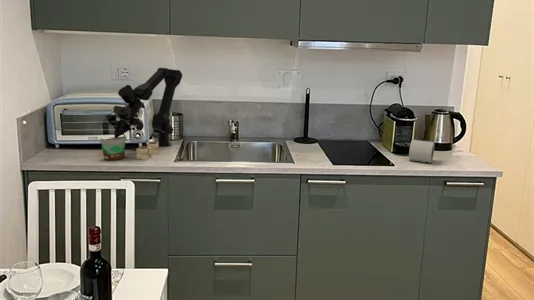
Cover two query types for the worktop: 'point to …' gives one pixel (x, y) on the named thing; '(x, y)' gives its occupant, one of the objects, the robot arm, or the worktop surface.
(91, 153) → the worktop surface
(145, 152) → the number block
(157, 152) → the number block
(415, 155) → the toilet paper
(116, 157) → the food container
